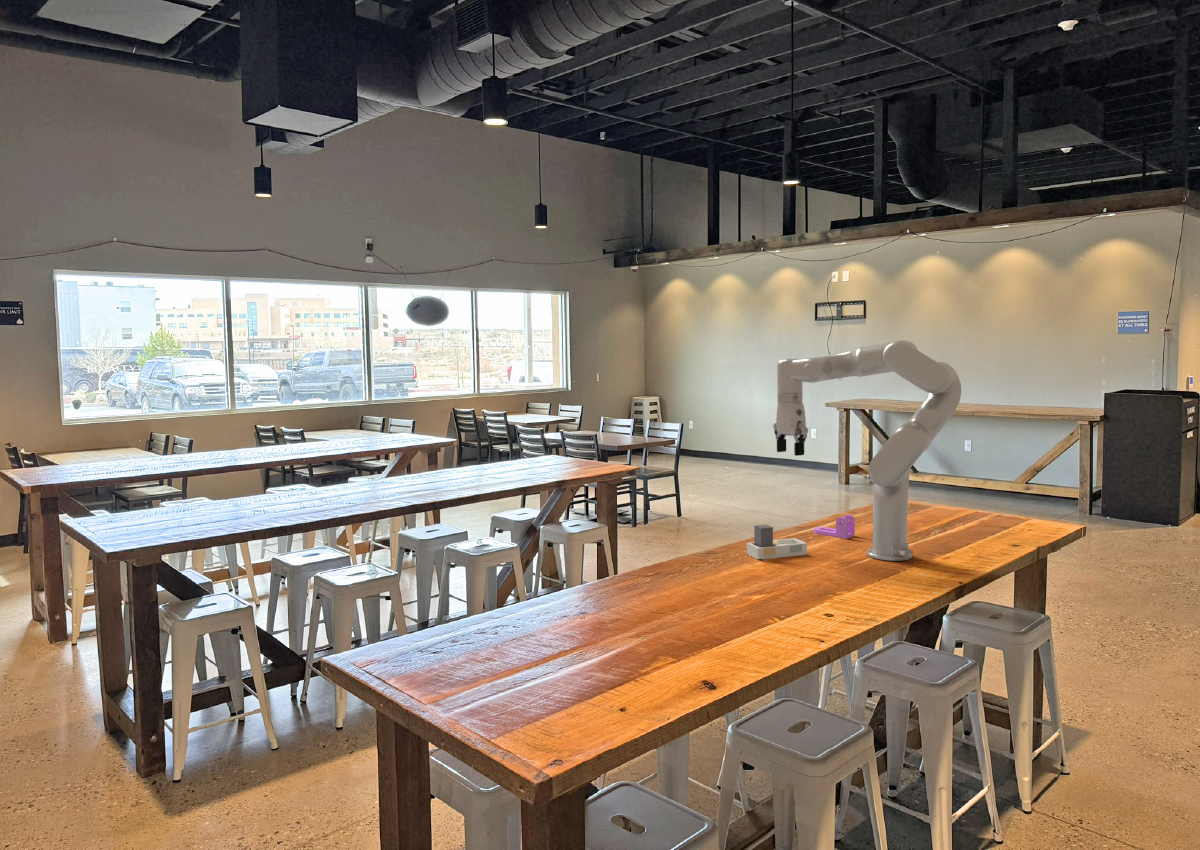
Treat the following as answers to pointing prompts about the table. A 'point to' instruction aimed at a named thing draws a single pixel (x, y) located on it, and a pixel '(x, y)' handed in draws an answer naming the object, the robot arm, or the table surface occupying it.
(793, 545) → the socket block
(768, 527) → the plug
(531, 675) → the table surface
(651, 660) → the table surface
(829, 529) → the bracket
